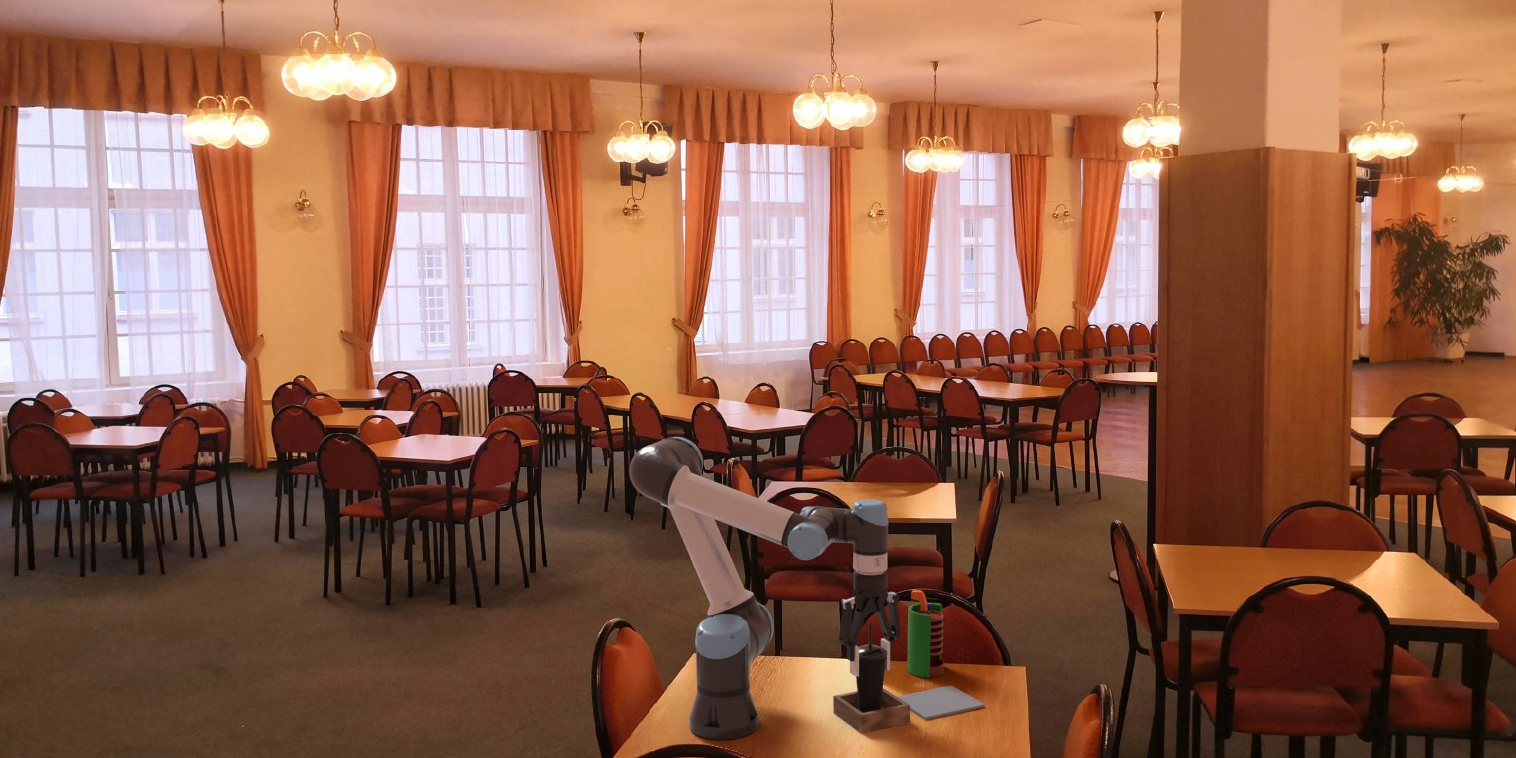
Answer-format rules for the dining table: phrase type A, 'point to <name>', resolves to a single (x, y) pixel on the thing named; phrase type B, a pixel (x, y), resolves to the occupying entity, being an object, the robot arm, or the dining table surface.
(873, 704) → the drinking cup
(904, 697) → the slate mat
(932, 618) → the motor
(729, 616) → the robot arm
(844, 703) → the walnut collar
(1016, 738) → the dining table surface
